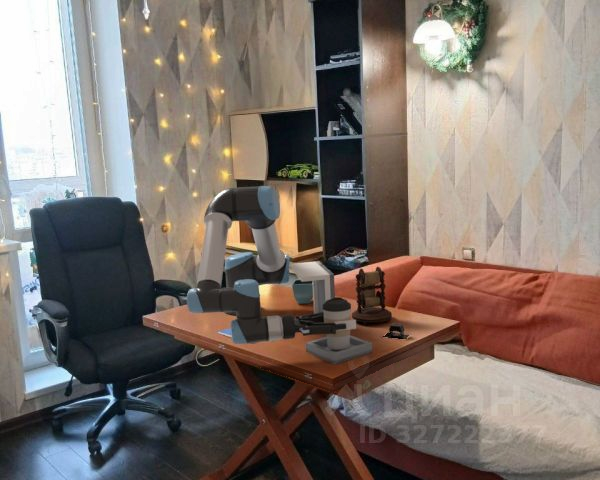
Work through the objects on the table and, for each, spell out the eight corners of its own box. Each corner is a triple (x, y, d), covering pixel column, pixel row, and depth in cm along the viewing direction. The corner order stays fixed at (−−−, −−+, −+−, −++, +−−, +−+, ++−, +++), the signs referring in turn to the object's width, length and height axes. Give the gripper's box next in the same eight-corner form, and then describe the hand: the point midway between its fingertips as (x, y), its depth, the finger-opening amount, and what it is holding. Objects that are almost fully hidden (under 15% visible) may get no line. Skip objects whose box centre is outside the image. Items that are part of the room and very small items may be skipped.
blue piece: (217, 334, 212) (216, 331, 212) (243, 326, 221) (243, 322, 221) (251, 345, 198) (251, 342, 198) (278, 336, 207) (278, 332, 207)
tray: (306, 351, 188) (305, 342, 188) (342, 340, 196) (342, 332, 196) (335, 364, 176) (334, 354, 175) (372, 352, 184) (372, 343, 184)
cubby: (293, 322, 220) (290, 263, 217) (322, 319, 222) (319, 261, 218) (305, 342, 197) (301, 277, 193) (337, 339, 199) (334, 274, 195)
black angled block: (417, 336, 198) (417, 323, 198) (411, 343, 192) (410, 330, 191) (383, 332, 204) (382, 320, 204) (375, 339, 198) (375, 326, 197)
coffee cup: (351, 351, 181) (349, 303, 178) (322, 350, 182) (319, 303, 180) (354, 341, 189) (352, 296, 187) (326, 340, 191) (324, 296, 189)
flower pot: (295, 299, 253) (294, 279, 251) (316, 299, 251) (315, 279, 250) (292, 305, 244) (291, 284, 243) (313, 305, 243) (312, 283, 241)
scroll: (382, 312, 227) (380, 262, 223) (398, 323, 213) (397, 269, 209) (346, 317, 223) (344, 266, 219) (360, 328, 209) (358, 273, 205)
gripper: (277, 328, 193) (344, 321, 196) (286, 350, 172) (361, 342, 176) (275, 306, 192) (343, 300, 195) (285, 325, 171) (360, 317, 174)
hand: (351, 320), depth 185 cm, fingers closed on coffee cup, 8 cm apart
